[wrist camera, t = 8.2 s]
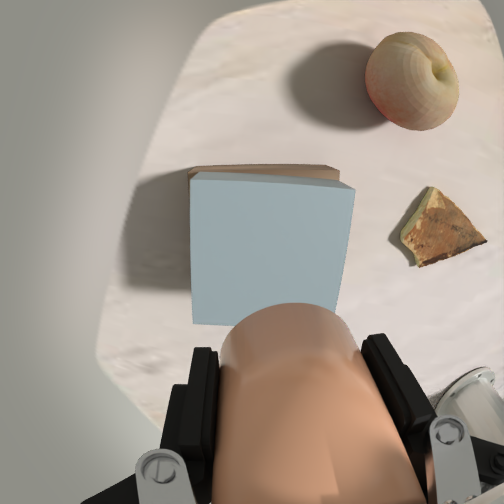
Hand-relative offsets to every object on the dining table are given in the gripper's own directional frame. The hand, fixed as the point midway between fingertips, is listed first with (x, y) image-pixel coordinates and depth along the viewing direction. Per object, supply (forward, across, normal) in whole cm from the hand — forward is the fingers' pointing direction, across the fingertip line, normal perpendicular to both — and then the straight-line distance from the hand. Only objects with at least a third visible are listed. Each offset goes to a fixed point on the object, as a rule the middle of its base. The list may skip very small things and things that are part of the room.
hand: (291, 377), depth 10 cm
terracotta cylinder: (+1, 0, 0) cm, 1 cm away
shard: (+19, -19, 0) cm, 27 cm away
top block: (+14, 0, 0) cm, 14 cm away
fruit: (+19, -12, -13) cm, 26 cm away
